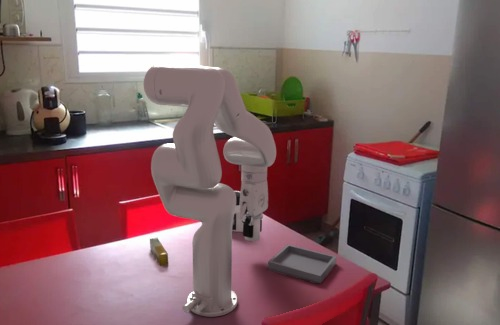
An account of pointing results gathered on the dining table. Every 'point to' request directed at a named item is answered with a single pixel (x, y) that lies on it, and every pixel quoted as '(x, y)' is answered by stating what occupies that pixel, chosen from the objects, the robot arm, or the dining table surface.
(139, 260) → the dining table surface
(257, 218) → the mushroom
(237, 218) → the container
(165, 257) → the medication box
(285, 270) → the tray
